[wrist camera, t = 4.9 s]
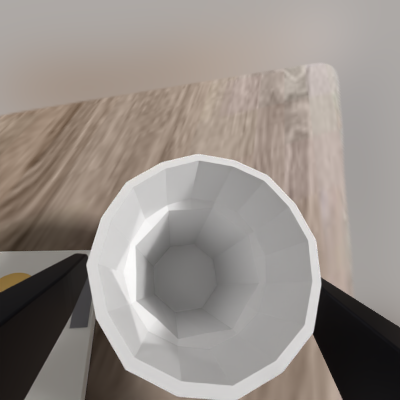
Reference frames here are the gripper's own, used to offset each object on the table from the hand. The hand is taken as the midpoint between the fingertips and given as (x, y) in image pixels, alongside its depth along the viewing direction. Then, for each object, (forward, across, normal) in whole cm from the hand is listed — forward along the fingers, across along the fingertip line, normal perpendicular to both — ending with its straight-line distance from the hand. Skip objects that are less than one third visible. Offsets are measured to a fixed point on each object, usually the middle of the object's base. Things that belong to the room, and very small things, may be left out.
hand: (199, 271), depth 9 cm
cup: (+6, 0, +6) cm, 8 cm away
